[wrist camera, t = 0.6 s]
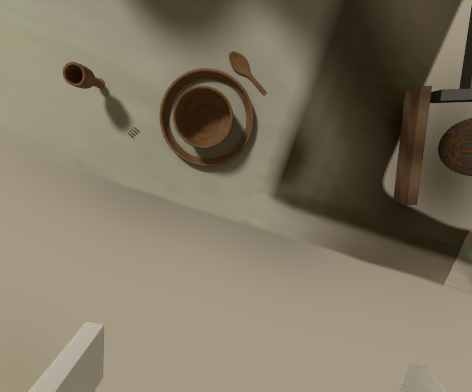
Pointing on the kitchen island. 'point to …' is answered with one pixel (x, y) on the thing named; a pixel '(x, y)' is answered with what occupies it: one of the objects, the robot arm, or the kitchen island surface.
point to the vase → (457, 148)
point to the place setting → (192, 108)
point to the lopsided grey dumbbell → (468, 89)
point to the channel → (412, 144)
